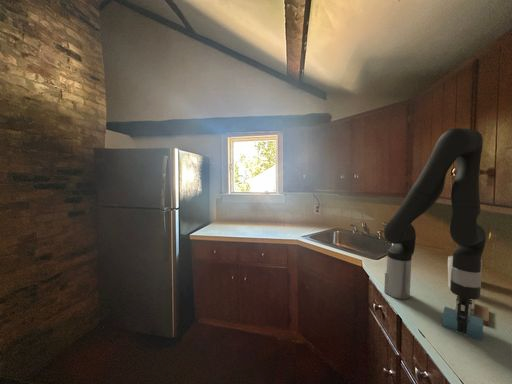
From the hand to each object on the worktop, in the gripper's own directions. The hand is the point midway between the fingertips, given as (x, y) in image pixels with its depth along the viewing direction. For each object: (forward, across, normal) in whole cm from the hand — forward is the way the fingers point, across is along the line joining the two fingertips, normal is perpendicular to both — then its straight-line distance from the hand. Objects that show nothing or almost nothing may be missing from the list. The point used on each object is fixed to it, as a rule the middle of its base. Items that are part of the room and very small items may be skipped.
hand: (462, 325), depth 77 cm
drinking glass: (+2, -34, -4) cm, 35 cm away
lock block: (+2, 0, 0) cm, 2 cm away
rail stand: (+1, -15, +2) cm, 15 cm away
